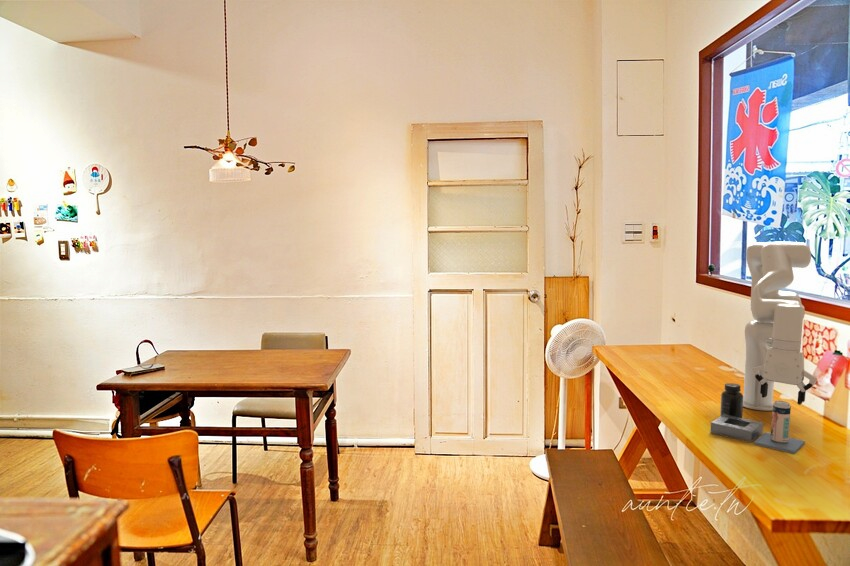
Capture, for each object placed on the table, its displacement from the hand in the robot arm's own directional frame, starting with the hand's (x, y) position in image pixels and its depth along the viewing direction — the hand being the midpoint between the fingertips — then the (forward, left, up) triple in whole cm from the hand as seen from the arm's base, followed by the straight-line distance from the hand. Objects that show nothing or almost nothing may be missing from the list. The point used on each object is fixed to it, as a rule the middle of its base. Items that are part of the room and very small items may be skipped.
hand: (781, 400), depth 189 cm
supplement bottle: (-14, -18, -14) cm, 27 cm away
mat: (+1, 0, -14) cm, 14 cm away
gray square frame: (0, -12, -14) cm, 18 cm away
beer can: (0, 0, -13) cm, 13 cm away
